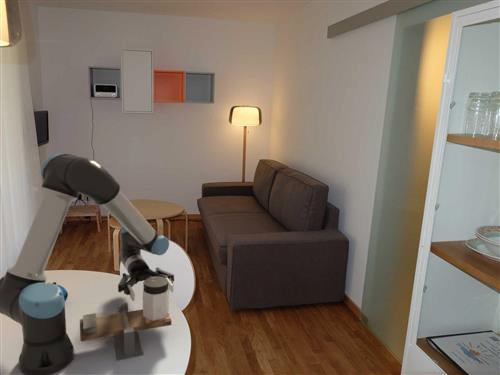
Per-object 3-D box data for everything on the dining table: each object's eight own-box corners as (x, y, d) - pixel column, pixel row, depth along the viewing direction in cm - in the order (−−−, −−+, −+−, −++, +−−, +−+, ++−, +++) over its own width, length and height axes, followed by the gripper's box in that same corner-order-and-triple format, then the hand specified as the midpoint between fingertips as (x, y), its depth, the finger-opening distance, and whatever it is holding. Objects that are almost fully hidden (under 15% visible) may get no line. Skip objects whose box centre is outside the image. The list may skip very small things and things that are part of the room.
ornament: (59, 313, 150) (57, 289, 147) (38, 310, 151) (36, 286, 149) (73, 302, 158) (71, 278, 155) (52, 299, 159) (51, 275, 157)
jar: (146, 323, 132) (146, 289, 130) (139, 311, 139) (138, 279, 136) (172, 316, 137) (173, 284, 134) (164, 305, 144) (164, 274, 141)
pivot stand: (116, 360, 126) (115, 335, 124) (111, 328, 142) (110, 305, 140) (143, 355, 129) (142, 330, 127) (135, 323, 145) (134, 301, 143)
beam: (80, 344, 123) (80, 333, 122) (79, 322, 135) (79, 311, 134) (172, 328, 134) (172, 317, 133) (164, 308, 146) (164, 298, 145)
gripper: (168, 271, 165) (187, 295, 147) (104, 283, 152) (116, 310, 135) (168, 254, 163) (187, 276, 145) (103, 264, 151) (115, 290, 133)
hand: (153, 292), depth 140 cm, fingers open, 13 cm apart
